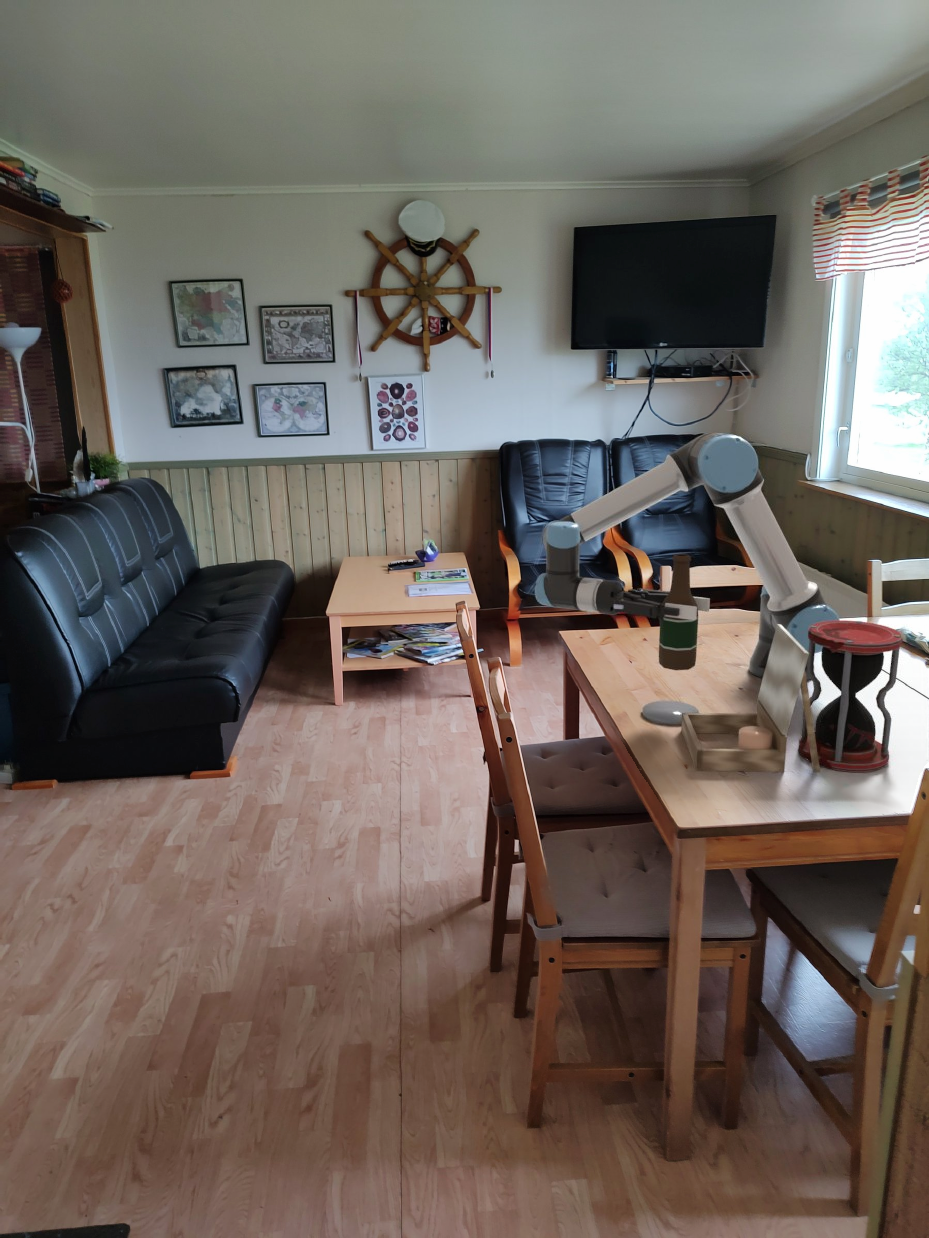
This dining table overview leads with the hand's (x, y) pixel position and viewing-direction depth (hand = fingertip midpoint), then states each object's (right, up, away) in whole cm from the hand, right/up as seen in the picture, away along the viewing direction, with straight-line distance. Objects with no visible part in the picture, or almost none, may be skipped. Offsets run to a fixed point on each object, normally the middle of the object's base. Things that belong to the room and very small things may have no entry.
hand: (702, 609), depth 177 cm
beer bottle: (-4, -12, +6) cm, 14 cm away
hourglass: (+24, -29, -11) cm, 39 cm away
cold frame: (+6, -29, -8) cm, 30 cm away
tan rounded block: (+6, -29, -13) cm, 33 cm away
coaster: (-4, -23, +11) cm, 26 cm away
